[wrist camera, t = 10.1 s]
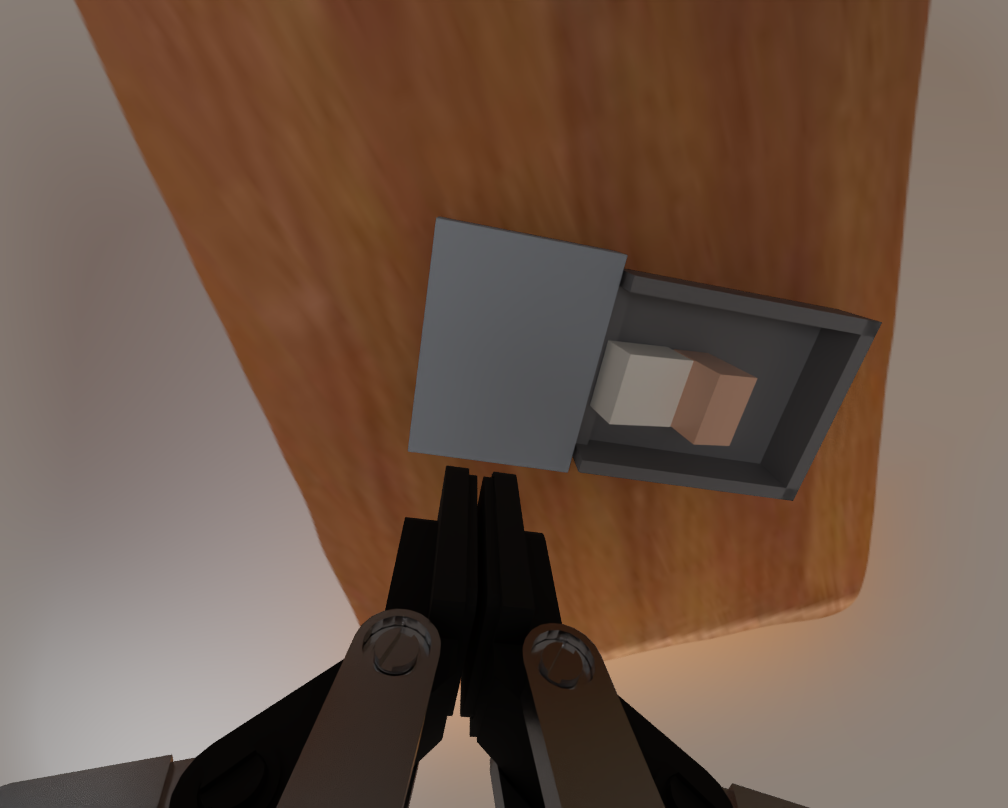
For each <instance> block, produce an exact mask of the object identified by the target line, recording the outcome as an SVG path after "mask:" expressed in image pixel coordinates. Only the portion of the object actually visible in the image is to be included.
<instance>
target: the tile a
mask: <svg viewBox="0 0 1008 808" xmlns="http://www.w3.org/2000/svg"><path fill="white" fill-rule="evenodd" d="M692 364H693V360H691V359H689V358H687V357H685V356H684V355H682V354H680V353H678V352H676V351H674V350H672V349H671V348H669V347H664V346H655V345H646V344H637V343H628V342H619V341H610V340H608V343H607V346H606V350H605V353H604V357H603V361H602V364H601V368H600V371H599V375H598V378H597V382H596V386H595V389H594V393H593V396H592V400H591V403H590V406H591V407H592V408H593V409H594V410H595V411H596V412H597V413H598V414H599V415H600V416H601V417H602V418H603V419H604V420H605V421H607V422H608V423H609V424H615V425H638V426H661V427H670V426H671V423H672V420H673V417H674V415H675V412H676V409H677V406H678V403H679V401H680V398H681V395H682V392H683V389H684V387H685V384H686V381H687V378H688V375H689V373H690V370H691V367H692Z"/></svg>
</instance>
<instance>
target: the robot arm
mask: <svg viewBox="0 0 1008 808" xmlns="http://www.w3.org/2000/svg"><path fill="white" fill-rule="evenodd" d="M460 680H461V700H460V702H461V703H460V715H461V717H470V737H477V742H478V743H479V745H480V746H481V747H482V748H483V749H484V750H485V751H486V753H487V754H488V755H489V756H490V757H491V758H490V775H491V782H492V788H493V794H494V801H495V808H809V807H805V806H802V805H799V804H796V803H793V802H790V801H786V800H783V799H780V798H777V797H774V796H771V795H768V794H764V793H761V792H758V791H755V790H752V789H749V788H745V787H743V786H739V785H736V784H731V786H730V787H729V789H726V788H723V787H721V786H720V784H719V783H718V782H717V781H716V780H715V779H714V778H713V777H712V776H711V775H710V774H709V773H708V772H707V771H706V770H705V769H704V768H703V767H702V766H700V765H699V764H698V763H697V762H696V761H695V760H693V759H692V758H691V757H690V756H689V755H688V754H686V753H685V752H684V751H683V750H682V749H681V748H679V747H678V746H677V745H676V744H675V743H674V742H672V741H671V740H670V739H669V738H668V737H666V736H665V735H664V734H663V733H662V732H661V731H659V730H658V729H657V728H656V727H654V725H652V724H651V723H650V722H649V721H648V720H646V719H645V718H644V717H643V716H642V715H641V714H639V713H638V712H637V711H636V710H635V709H634V708H633V707H631V706H630V705H629V704H628V703H627V702H625V701H624V700H623V699H622V698H621V697H620V696H618V695H617V692H616V690H615V688H614V685H613V683H612V680H611V678H610V676H609V673H608V671H607V669H606V666H605V664H604V661H603V659H602V657H601V655H600V653H599V651H598V650H597V648H596V646H595V645H594V644H593V643H592V641H591V640H590V639H589V638H588V637H587V636H586V635H584V634H583V633H581V632H580V631H578V630H577V629H575V628H572V627H570V626H567V625H564V624H562V622H561V617H560V612H559V607H558V601H557V596H556V591H555V586H554V581H553V576H552V571H551V566H550V561H549V556H548V551H547V546H546V540H545V537H544V535H543V534H542V533H537V532H528V531H524V526H523V519H522V512H521V505H520V497H519V490H518V483H517V477H516V475H514V474H507V473H499V472H493V474H492V477H483V481H482V486H481V491H480V496H479V501H478V506H477V476H476V475H469V468H461V467H454V466H446V470H445V476H444V483H443V489H442V495H441V501H440V507H439V513H438V519H437V521H434V520H426V519H417V518H409V517H405V521H404V525H403V530H402V534H401V539H400V543H399V548H398V553H397V557H396V562H395V567H394V571H393V576H392V581H391V585H390V590H389V595H388V599H387V604H386V609H385V611H383V612H380V613H378V614H376V615H374V616H372V617H370V618H369V619H368V620H367V621H366V622H364V623H363V624H362V625H361V627H360V628H359V630H358V631H357V633H356V634H355V636H354V638H353V640H352V643H351V645H350V647H349V649H348V651H347V654H346V656H345V658H344V659H343V660H342V661H340V662H339V663H337V664H335V665H334V666H332V667H331V668H329V669H328V670H326V671H325V672H323V673H322V674H320V675H318V676H317V677H315V678H314V679H312V680H311V681H309V682H308V683H306V684H305V685H303V686H301V687H300V688H298V689H297V690H295V691H294V692H292V693H290V694H289V695H287V696H286V697H284V698H283V699H282V700H280V701H278V702H277V703H275V704H273V705H272V706H270V707H269V708H267V709H266V710H264V711H263V712H261V713H260V714H258V715H256V716H255V717H253V718H252V719H250V720H249V721H247V722H246V723H244V724H242V725H241V726H239V727H238V728H236V729H235V730H233V731H232V732H230V733H229V734H227V735H225V736H224V737H223V738H221V739H219V740H218V741H216V742H215V743H213V744H212V745H211V746H209V747H208V748H207V749H206V750H204V751H203V752H202V753H201V754H199V755H198V756H197V757H196V758H191V759H185V760H180V761H174V762H173V757H172V755H167V756H162V757H156V758H150V759H144V760H139V761H133V762H128V763H122V764H116V765H110V766H105V767H99V768H94V769H88V770H82V771H77V772H71V773H66V774H60V775H55V776H48V777H43V778H37V779H32V780H26V781H20V782H15V783H10V784H7V785H4V786H1V787H0V808H409V804H410V800H411V795H412V791H413V787H414V783H415V778H416V774H417V770H418V765H419V761H420V760H421V759H422V758H423V757H424V756H425V755H426V754H427V753H428V752H430V750H432V749H433V748H434V747H435V746H436V745H437V744H438V743H439V742H440V741H441V740H442V738H443V733H444V729H445V724H446V719H447V716H452V715H453V711H454V706H455V702H456V697H457V693H458V689H459V684H460Z"/></svg>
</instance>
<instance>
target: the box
mask: <svg viewBox="0 0 1008 808" xmlns="http://www.w3.org/2000/svg"><path fill="white" fill-rule="evenodd" d="M881 323H882V322H879V321H875V320H872V319H869V318H865V317H862V316H859V315H855V314H852V313H849V312H845V311H842V310H839V309H833V308H828V307H823V306H818V305H812V304H807V303H802V302H797V301H792V300H786V299H781V298H776V297H771V296H765V295H760V294H755V293H750V292H744V291H739V290H734V289H729V288H724V287H718V286H713V285H708V284H703V283H697V282H692V281H687V280H682V279H677V278H671V277H666V276H661V275H656V274H650V273H645V272H640V271H635V270H629V269H623V273H622V277H621V280H620V284H619V288H618V291H617V295H616V299H615V302H614V306H613V310H612V313H611V317H610V320H609V324H608V328H607V331H606V335H605V339H604V342H603V346H602V350H601V353H600V357H599V361H598V364H597V368H596V371H595V375H594V379H593V382H592V386H591V390H590V393H589V397H588V401H587V404H586V408H585V412H584V415H583V419H582V422H581V426H580V430H579V433H578V437H577V441H576V444H575V448H574V452H573V455H572V456H573V458H574V461H575V464H576V466H577V469H578V471H579V472H581V473H589V474H596V475H604V476H611V477H619V478H626V479H634V480H641V481H649V482H656V483H664V484H671V485H679V486H686V487H693V488H701V489H708V490H716V491H723V492H731V493H738V494H746V495H753V496H761V497H768V498H776V499H783V500H791V501H793V500H794V498H795V496H796V494H797V492H798V490H799V488H800V486H801V484H802V482H803V480H804V478H805V476H806V474H807V472H808V470H809V468H810V466H811V464H812V462H813V460H814V458H815V456H816V454H817V452H818V450H819V448H820V446H821V444H822V442H823V440H824V438H825V436H826V434H827V432H828V430H829V428H830V426H831V424H832V422H833V420H834V418H835V416H836V414H837V411H838V409H839V407H840V405H841V403H842V401H843V399H844V397H845V395H846V393H847V391H848V389H849V387H850V385H851V383H852V381H853V379H854V377H855V375H856V373H857V371H858V369H859V367H860V365H861V363H862V361H863V359H864V357H865V355H866V353H867V351H868V349H869V347H870V345H871V343H872V341H873V339H874V337H875V335H876V333H877V331H878V329H879V327H880V325H881ZM608 340H610V341H619V342H628V343H637V344H646V345H655V346H664V347H669V348H671V349H672V350H674V349H678V350H686V351H695V352H704V353H709V354H711V355H713V356H715V357H717V358H719V359H721V360H723V361H725V362H727V363H729V364H731V365H733V366H735V367H737V368H739V369H741V370H742V371H744V372H746V373H748V374H750V375H752V376H754V377H756V378H757V381H756V383H755V386H754V388H753V390H752V393H751V395H750V397H749V400H748V402H747V405H746V407H745V409H744V412H743V414H742V417H741V419H740V421H739V424H738V426H737V429H736V431H735V433H734V436H733V438H732V441H731V443H730V445H729V446H719V445H694V444H692V443H691V442H690V441H688V440H687V439H686V438H685V437H683V436H682V435H681V434H680V433H678V432H677V431H676V430H675V429H673V428H672V427H671V426H670V427H661V426H638V425H615V424H609V423H608V422H607V421H605V420H604V419H603V418H602V417H601V416H600V415H599V414H598V413H597V412H596V411H595V410H594V409H593V408H592V407H591V406H590V403H591V400H592V396H593V393H594V389H595V386H596V382H597V378H598V375H599V371H600V368H601V364H602V361H603V357H604V353H605V350H606V346H607V343H608Z"/></svg>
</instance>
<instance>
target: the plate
mask: <svg viewBox="0 0 1008 808" xmlns="http://www.w3.org/2000/svg"><path fill="white" fill-rule="evenodd" d="M626 259H627V255H626V254H623V253H620V252H617V251H613V250H608V249H603V248H598V247H592V246H587V245H582V244H577V243H572V242H567V241H562V240H557V239H552V238H546V237H541V236H536V235H531V234H526V233H521V232H516V231H511V230H506V229H500V228H495V227H490V226H485V225H480V224H475V223H470V222H465V221H460V220H454V219H449V218H444V217H437V218H436V224H435V233H434V241H433V249H432V257H431V265H430V274H429V282H428V290H427V298H426V306H425V315H424V323H423V331H422V339H421V347H420V356H419V364H418V372H417V380H416V388H415V397H414V405H413V413H412V421H411V429H410V438H409V446H408V451H410V452H417V453H425V454H432V455H440V456H447V457H455V458H462V459H470V460H477V461H485V462H492V463H500V464H507V465H515V466H522V467H530V468H538V469H545V470H553V471H560V472H568V470H569V466H570V463H571V459H572V455H573V452H574V448H575V444H576V441H577V437H578V433H579V430H580V426H581V422H582V419H583V415H584V412H585V408H586V404H587V401H588V397H589V393H590V390H591V386H592V382H593V379H594V375H595V371H596V368H597V364H598V361H599V357H600V353H601V350H602V346H603V342H604V339H605V335H606V331H607V328H608V324H609V320H610V317H611V313H612V310H613V306H614V302H615V299H616V295H617V291H618V288H619V284H620V280H621V277H622V273H623V269H624V266H625V262H626Z"/></svg>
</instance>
